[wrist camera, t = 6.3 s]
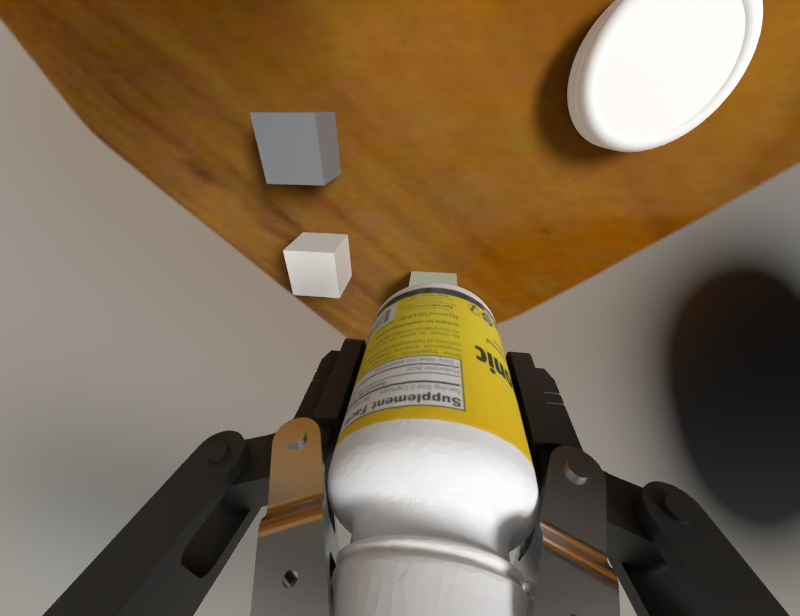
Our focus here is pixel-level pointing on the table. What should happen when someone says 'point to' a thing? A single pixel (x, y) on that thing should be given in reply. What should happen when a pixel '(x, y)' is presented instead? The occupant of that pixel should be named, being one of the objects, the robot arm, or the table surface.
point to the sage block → (432, 278)
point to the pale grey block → (318, 264)
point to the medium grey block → (297, 146)
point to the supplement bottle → (432, 466)
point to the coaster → (659, 68)
